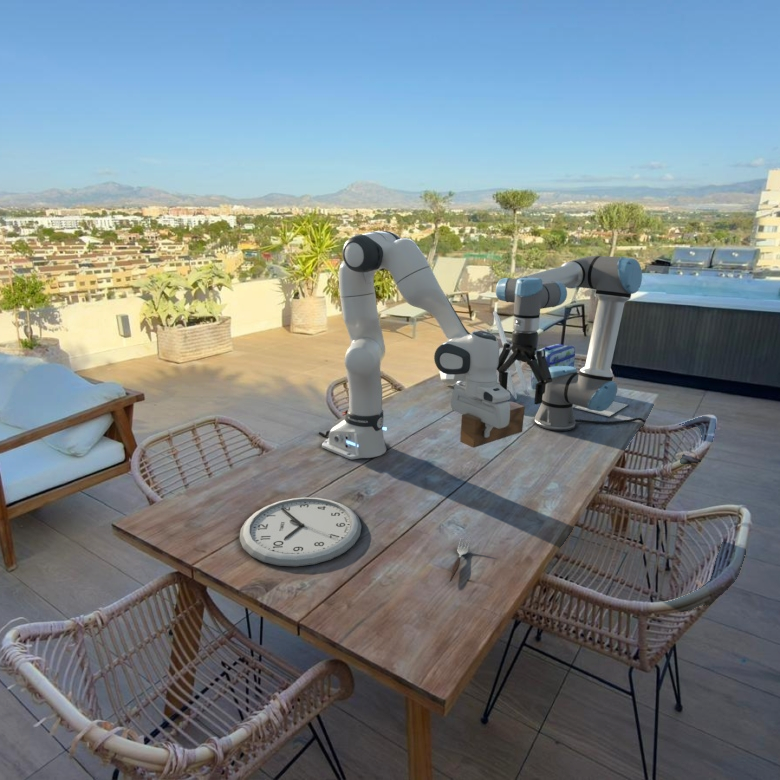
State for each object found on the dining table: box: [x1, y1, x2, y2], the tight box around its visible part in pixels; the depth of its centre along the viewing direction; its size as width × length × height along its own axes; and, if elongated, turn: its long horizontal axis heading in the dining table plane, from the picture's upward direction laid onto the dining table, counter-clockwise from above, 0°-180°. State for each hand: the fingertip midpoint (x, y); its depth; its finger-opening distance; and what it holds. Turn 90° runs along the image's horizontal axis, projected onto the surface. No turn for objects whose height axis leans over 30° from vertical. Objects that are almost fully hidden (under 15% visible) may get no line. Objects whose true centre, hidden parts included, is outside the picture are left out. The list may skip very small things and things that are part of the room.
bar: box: [459, 401, 526, 449], centre depth 158 cm, size 22×6×8 cm, turn 127°
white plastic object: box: [438, 310, 531, 400], centre depth 245 cm, size 37×45×31 cm
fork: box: [449, 535, 471, 582], centre depth 119 cm, size 3×16×2 cm, turn 160°
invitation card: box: [573, 400, 629, 418], centre depth 226 cm, size 21×1×15 cm
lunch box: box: [530, 343, 576, 390], centre depth 248 cm, size 26×11×21 cm, turn 134°
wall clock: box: [239, 497, 362, 567], centre depth 131 cm, size 30×2×30 cm
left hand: (477, 432), depth 154 cm, fingers closed on bar, 5 cm apart
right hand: (519, 397), depth 163 cm, fingers open, 13 cm apart
